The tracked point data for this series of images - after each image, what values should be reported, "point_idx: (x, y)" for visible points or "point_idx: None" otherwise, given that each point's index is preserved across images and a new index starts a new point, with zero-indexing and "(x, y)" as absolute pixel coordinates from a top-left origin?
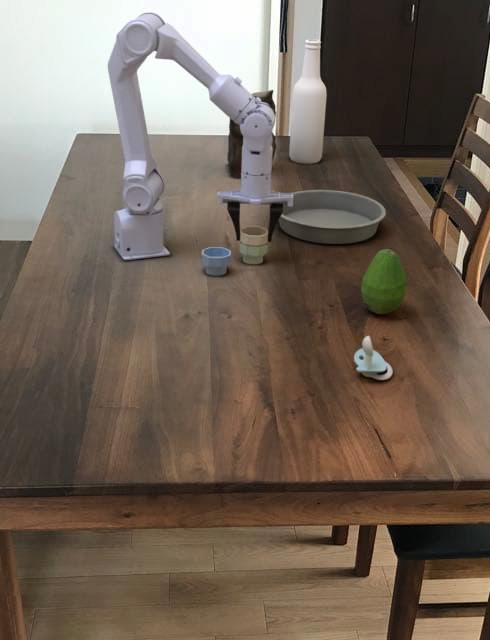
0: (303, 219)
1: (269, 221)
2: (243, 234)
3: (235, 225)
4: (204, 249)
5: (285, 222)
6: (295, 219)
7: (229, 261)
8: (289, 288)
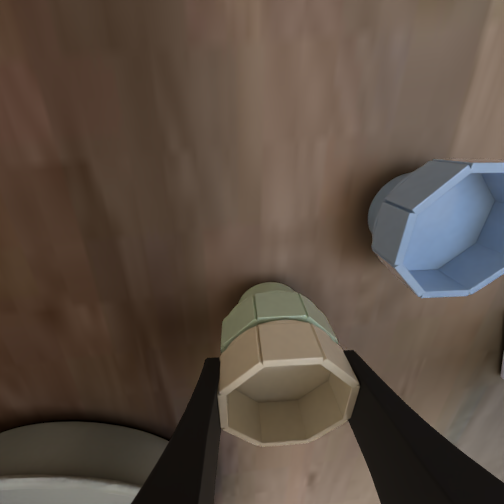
0: None
1: (210, 481)
2: (345, 372)
3: (416, 420)
4: None
5: None
6: None
7: (395, 198)
8: (102, 48)
